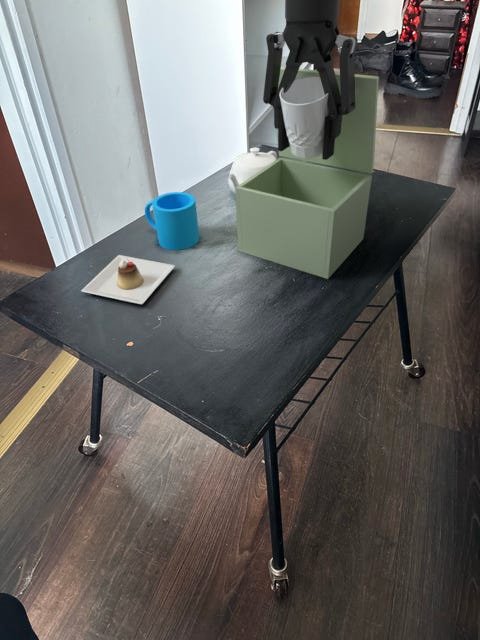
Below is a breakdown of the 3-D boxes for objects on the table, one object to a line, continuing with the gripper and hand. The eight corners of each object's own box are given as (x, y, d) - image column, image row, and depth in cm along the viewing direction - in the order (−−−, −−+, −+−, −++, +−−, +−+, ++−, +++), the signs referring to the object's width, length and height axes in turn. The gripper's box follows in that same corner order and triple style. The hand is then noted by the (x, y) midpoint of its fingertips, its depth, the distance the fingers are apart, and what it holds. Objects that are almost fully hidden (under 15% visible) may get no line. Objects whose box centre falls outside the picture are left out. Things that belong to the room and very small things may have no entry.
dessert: (176, 270, 86) (172, 247, 83) (143, 309, 78) (138, 285, 74) (119, 259, 90) (114, 237, 87) (82, 296, 81) (74, 273, 78)
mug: (207, 235, 95) (203, 197, 90) (182, 254, 90) (177, 215, 85) (161, 221, 101) (155, 185, 95) (135, 239, 95) (127, 201, 90)
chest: (328, 279, 82) (334, 211, 74) (238, 251, 90) (235, 187, 82) (363, 239, 92) (372, 175, 83) (279, 217, 100) (280, 157, 92)
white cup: (341, 136, 80) (339, 78, 72) (321, 165, 77) (317, 107, 69) (299, 130, 84) (293, 74, 76) (278, 157, 80) (270, 101, 73)
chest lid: (377, 78, 71) (391, 61, 73) (269, 67, 79) (286, 52, 82) (371, 174, 83) (384, 156, 86) (279, 155, 91) (293, 140, 94)
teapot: (256, 217, 100) (254, 171, 94) (207, 205, 106) (203, 160, 99) (298, 182, 113) (299, 138, 106) (253, 172, 118) (252, 131, 112)
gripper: (235, -12, 67) (242, 149, 82) (374, -9, 58) (353, 171, 73) (263, -17, 72) (264, 136, 86) (395, -16, 63) (372, 155, 77)
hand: (305, 152), depth 80 cm, fingers closed on white cup, 8 cm apart
